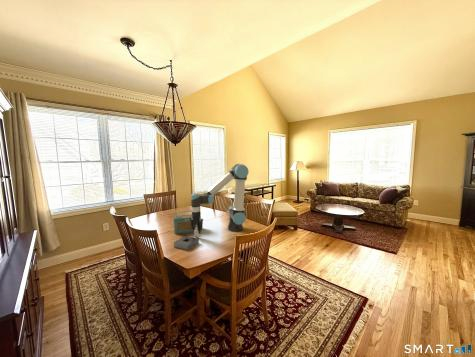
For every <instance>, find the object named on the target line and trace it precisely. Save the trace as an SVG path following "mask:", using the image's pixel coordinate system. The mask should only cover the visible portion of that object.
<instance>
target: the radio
mask: <svg viewBox="0 0 475 357" xmlns="http://www.w3.org/2000/svg"><path fill="white" fill-rule="evenodd" d="M187 212H190V213H191V214H181V213H187ZM178 214H179V215H178ZM201 215H202V214H201ZM201 215H200V217H201ZM191 217H192V210H183V211H178V212H176V213H175V214H174V216H173V229H174V231H173V232H174V235H176V234H177V235H178V234H186V233H194V232H193V229H192V228H191V221H190V218H191ZM201 218H202V217H201ZM196 224H197V223H196Z"/></svg>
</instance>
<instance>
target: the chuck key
mask: <svg viewBox="0 0 475 357" xmlns="http://www.w3.org/2000/svg"><path fill="white" fill-rule="evenodd" d="M194 228H195V237H194V238H198V235H197V230H198V227H197V224H196V225H195V226H194ZM198 239H199V238H198Z"/></svg>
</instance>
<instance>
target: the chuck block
mask: <svg viewBox="0 0 475 357" xmlns="http://www.w3.org/2000/svg"><path fill="white" fill-rule="evenodd" d="M199 243H200V240H199V238H196V237H192V236H189V235H185V236H182V237H181V238H179V239H177V240H175V241H173V247H174V248H177V249H180V250H184V251H189V250H191V249H192V248H193V247H195V246H197V245H198V244H199Z"/></svg>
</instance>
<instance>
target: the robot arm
mask: <svg viewBox="0 0 475 357" xmlns="http://www.w3.org/2000/svg"><path fill="white" fill-rule="evenodd" d="M248 175H249V168H248V167H247V166H246V165H245V164H243V163H241V164H240V163H237V164H235V165H233V166H232V167H231V168H230V169H229V170H228V171H227V173H226V174H225V175H224V176H222V177H221V178H220V179H219V180H218V181H216V183H215V184H213V185H212V186H211V187H210V188H208V189H207V190H206V191H204V192H203V193H202V195H201V194H200V193H198V192H197V193H192V194H191V195H190V201H191V202H190V204H191V211H192V212H191V214H192V217H191V218H190V221H191V228H192V229H193V232H192V233H193V236H194V237H193V238H196V237H195V228H194V226H195V225H196V223H197V227H198V230H197V235H198V239H199V238H201V233H202V231H201V230H203V224H204V223H203V222H204V218H202V217H200V215H202V213H201V205H211V204H214V203H215V195H217V193H218V192H220V191H221V190H222V189H223V188H224V187H225V186H227V185H228V184H229V183H230V182H231V181H233V180H234V182H235V184H234V185H235V186H234V187H235V188H234V202H233V203H234V204H233V205H231V206H229V208H228V210H229V212H228V213H229V214H228V215H229V216H228V218H229V222H228V225H227V230H228V231H229V232H233V231H234V232H235V231H237V232H241V231H243V230H244V225H243V224H244V223H245V222H246V220H247V219H246V218H247V217H246V208H245V207H244V204H245V203H244V202H245V187H246V186H245V185H246V181H247V180H248ZM242 229H243V230H242ZM240 230H241V231H240ZM234 232H233V233H234Z"/></svg>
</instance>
